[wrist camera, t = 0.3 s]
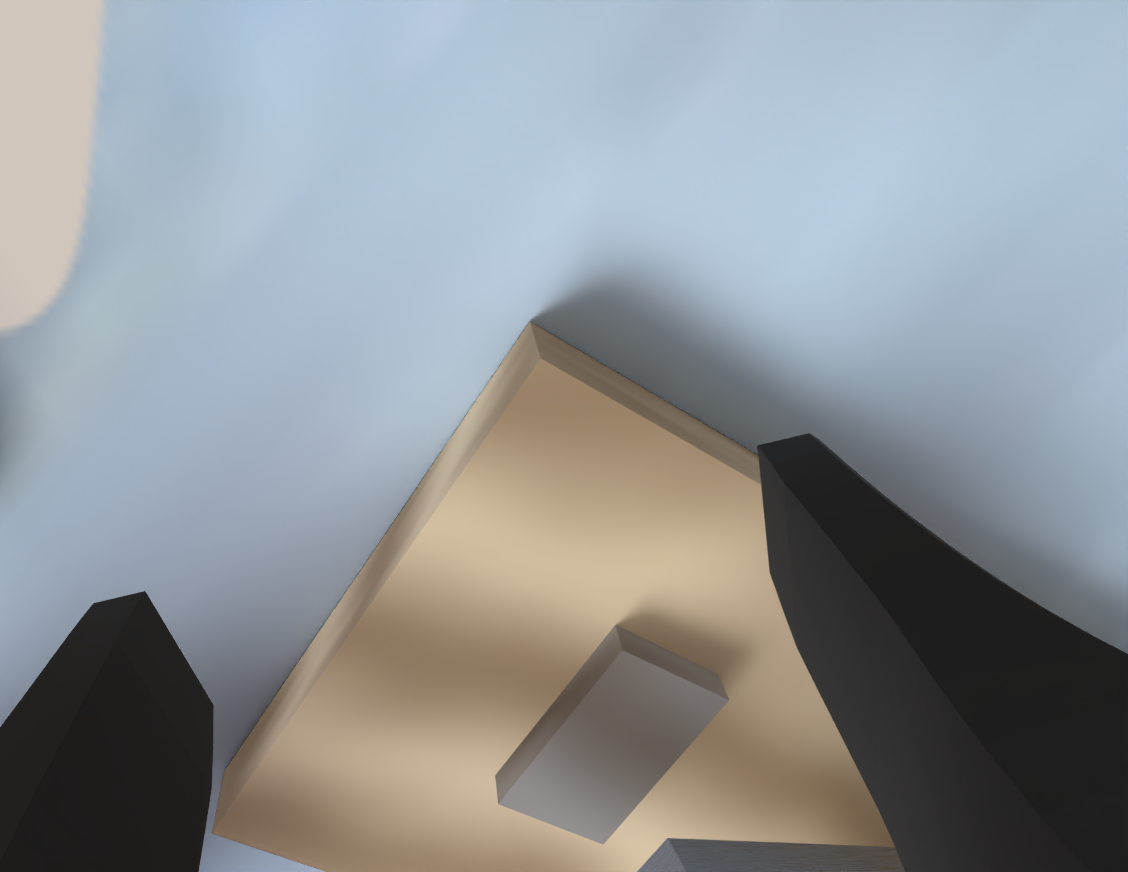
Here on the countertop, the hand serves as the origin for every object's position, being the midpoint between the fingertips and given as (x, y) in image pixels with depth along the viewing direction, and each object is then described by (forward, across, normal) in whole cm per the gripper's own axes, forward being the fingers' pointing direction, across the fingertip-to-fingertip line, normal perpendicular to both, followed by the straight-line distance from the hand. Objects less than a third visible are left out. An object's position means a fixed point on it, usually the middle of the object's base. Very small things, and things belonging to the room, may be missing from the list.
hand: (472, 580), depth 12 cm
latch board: (+8, -4, +15) cm, 18 cm away
